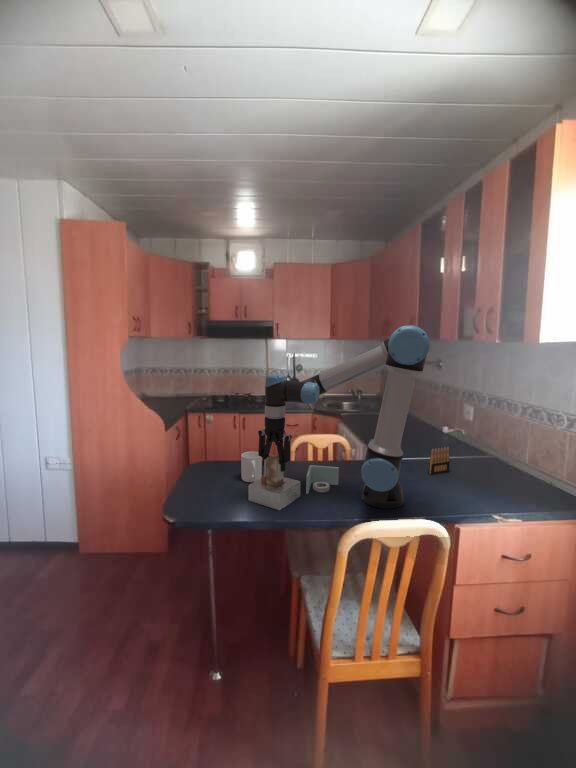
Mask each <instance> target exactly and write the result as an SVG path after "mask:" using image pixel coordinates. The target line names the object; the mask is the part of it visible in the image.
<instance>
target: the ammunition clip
mask: <svg viewBox="0 0 576 768" xmlns="http://www.w3.org/2000/svg"><path fill="white" fill-rule="evenodd" d="M450 463H451V462H450V448H449V446H447V447H446V446H444V448H443V447H441V448H440V447H438V448H437V447H435V448H432V449H431V453H430V458H429V463H428V465H429V466H428V472H427V474H428V475H430V476H434V475H440V474H441V475H442V474H447V473H450V467H451V466H450Z"/></svg>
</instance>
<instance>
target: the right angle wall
mask: <svg viewBox="0 0 576 768" xmlns="http://www.w3.org/2000/svg"><path fill="white" fill-rule="evenodd" d="M339 470H340V467H337V466H327V465H325V466H324V465H312V464H311V465H309V466H308V470H307V472H306V479H305V481H306V482H305V494H307V495H309V492H310V490H311V486H312V490H313V491H315V492H316V493H326V492H327V493H328V492H329V491H330V490H331V486H330V485H332V486H334V485H335V486H339V478H340V477H339V474H340V472H339Z"/></svg>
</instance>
